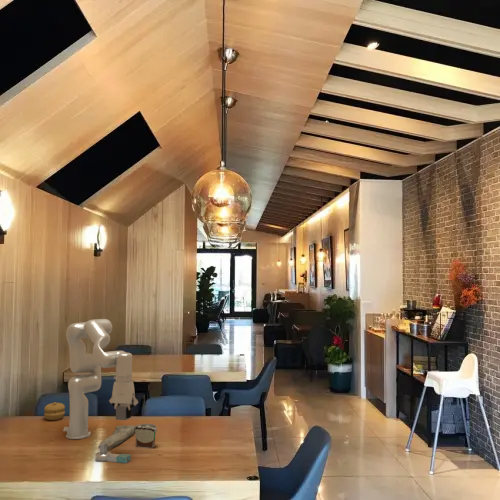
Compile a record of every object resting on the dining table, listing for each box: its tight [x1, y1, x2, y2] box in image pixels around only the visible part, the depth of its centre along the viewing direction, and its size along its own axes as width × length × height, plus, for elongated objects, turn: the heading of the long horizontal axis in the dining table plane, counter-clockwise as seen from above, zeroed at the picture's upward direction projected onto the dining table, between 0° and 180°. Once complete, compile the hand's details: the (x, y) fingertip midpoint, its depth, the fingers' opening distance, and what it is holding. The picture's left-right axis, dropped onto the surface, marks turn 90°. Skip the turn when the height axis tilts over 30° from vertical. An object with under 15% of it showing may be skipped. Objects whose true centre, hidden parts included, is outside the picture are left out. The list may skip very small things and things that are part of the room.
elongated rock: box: [98, 424, 136, 451], centre depth 263 cm, size 35×5×10 cm
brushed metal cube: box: [115, 404, 132, 421], centre depth 242 cm, size 5×5×6 cm
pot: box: [43, 401, 66, 421], centre depth 303 cm, size 12×12×10 cm
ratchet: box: [94, 443, 132, 464], centre depth 233 cm, size 16×7×7 cm, turn 75°
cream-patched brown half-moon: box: [134, 423, 158, 450], centre depth 254 cm, size 12×6×10 cm, turn 71°
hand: (123, 416), depth 242 cm, fingers closed on brushed metal cube, 5 cm apart
